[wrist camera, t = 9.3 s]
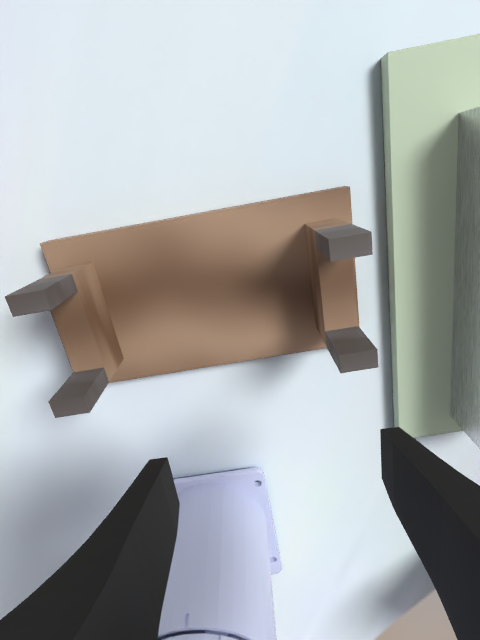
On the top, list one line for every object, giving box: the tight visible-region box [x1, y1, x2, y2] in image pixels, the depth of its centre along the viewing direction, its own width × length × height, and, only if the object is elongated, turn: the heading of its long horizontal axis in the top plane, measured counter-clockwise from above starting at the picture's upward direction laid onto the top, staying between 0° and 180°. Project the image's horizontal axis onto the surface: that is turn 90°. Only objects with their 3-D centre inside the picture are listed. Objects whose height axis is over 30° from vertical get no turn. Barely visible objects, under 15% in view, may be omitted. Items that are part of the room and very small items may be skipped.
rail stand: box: [5, 186, 378, 418], centre depth 17 cm, size 8×15×6 cm, turn 100°
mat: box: [381, 34, 480, 438], centre depth 19 cm, size 20×9×1 cm, turn 10°
